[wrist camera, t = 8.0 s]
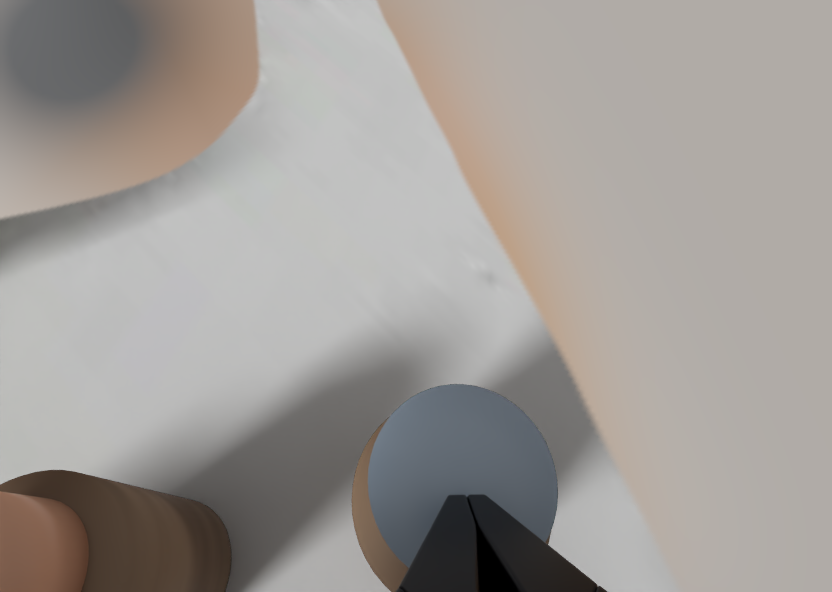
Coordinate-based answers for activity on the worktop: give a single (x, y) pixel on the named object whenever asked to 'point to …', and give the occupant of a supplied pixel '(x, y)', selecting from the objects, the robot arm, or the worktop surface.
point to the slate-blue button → (458, 464)
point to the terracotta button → (41, 545)
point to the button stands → (176, 533)
